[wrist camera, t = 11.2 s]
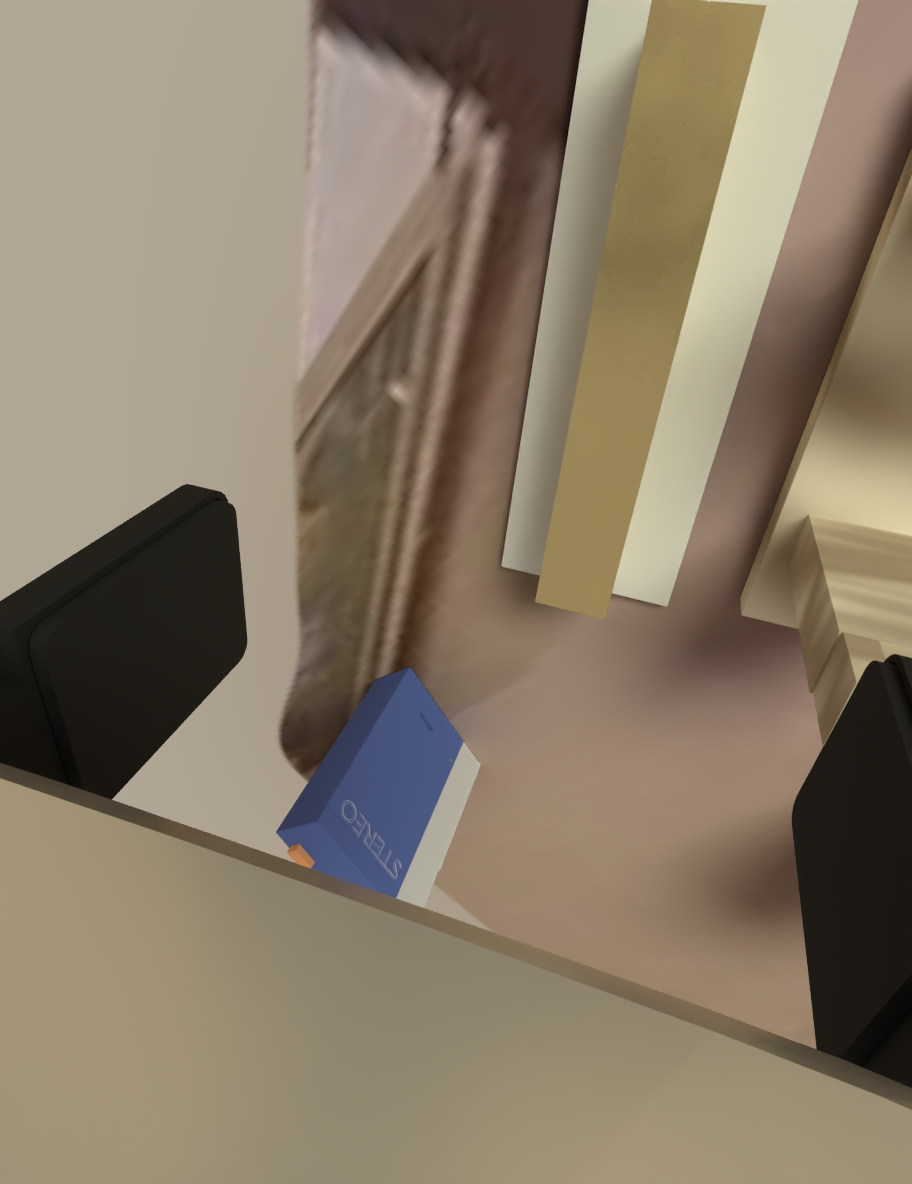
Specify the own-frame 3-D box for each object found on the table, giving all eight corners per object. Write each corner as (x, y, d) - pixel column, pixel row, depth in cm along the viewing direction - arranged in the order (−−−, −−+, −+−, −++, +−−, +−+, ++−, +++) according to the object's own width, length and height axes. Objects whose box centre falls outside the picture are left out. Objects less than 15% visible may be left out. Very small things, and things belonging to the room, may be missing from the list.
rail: (661, 19, 23) (652, -4, 19) (758, 28, 22) (766, 5, 19) (552, 558, 34) (535, 602, 30) (615, 573, 33) (604, 619, 30)
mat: (595, -20, 23) (592, -24, 23) (857, -2, 21) (860, -6, 21) (504, 560, 35) (501, 566, 35) (668, 600, 33) (667, 606, 33)
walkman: (374, 679, 42) (270, 838, 32) (410, 666, 40) (313, 827, 31) (445, 775, 44) (368, 951, 34) (481, 766, 43) (412, 946, 33)
